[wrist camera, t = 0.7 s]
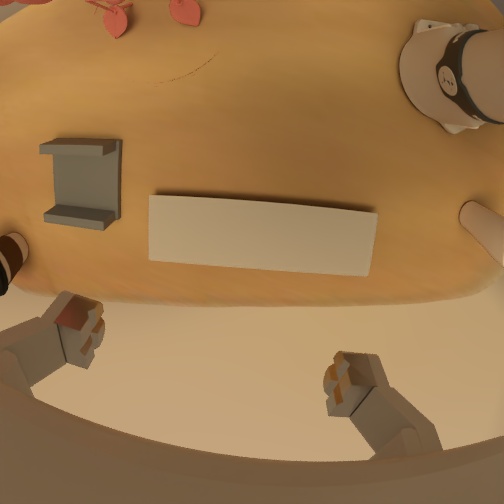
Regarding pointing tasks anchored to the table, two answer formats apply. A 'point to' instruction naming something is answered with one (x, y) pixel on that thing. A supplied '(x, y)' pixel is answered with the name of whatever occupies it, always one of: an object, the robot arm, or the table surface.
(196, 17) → the figurine
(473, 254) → the table surface
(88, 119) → the table surface
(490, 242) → the drinking glass
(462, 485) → the robot arm
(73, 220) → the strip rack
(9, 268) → the coffee cup
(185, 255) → the decorative molding
